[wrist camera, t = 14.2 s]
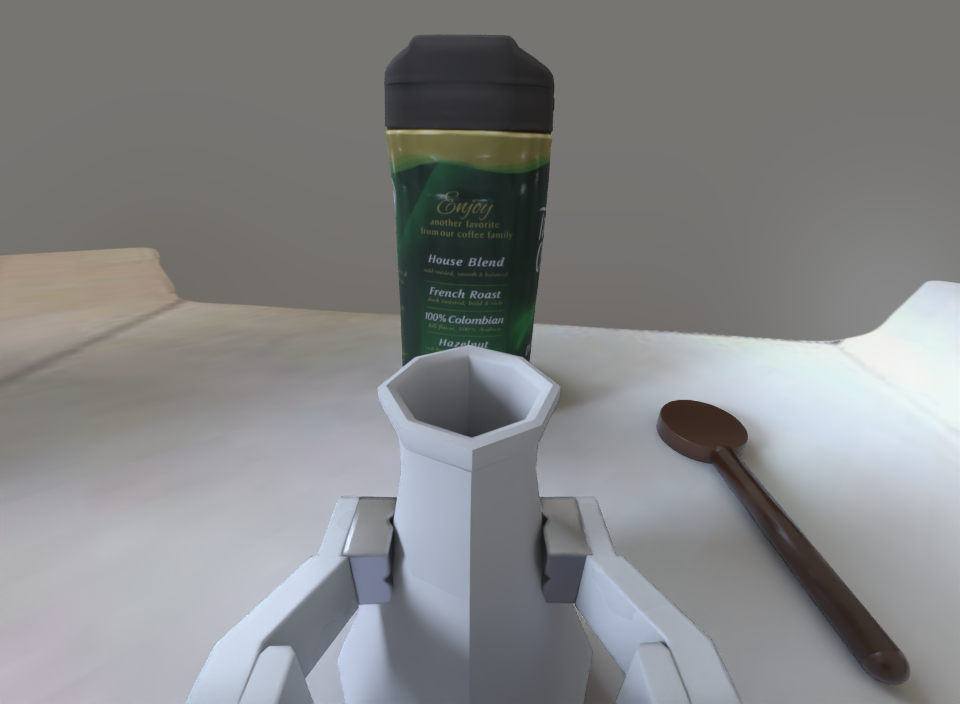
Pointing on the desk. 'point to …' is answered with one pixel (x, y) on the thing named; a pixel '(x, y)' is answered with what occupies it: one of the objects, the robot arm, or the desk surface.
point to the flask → (467, 546)
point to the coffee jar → (468, 189)
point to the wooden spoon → (781, 531)
